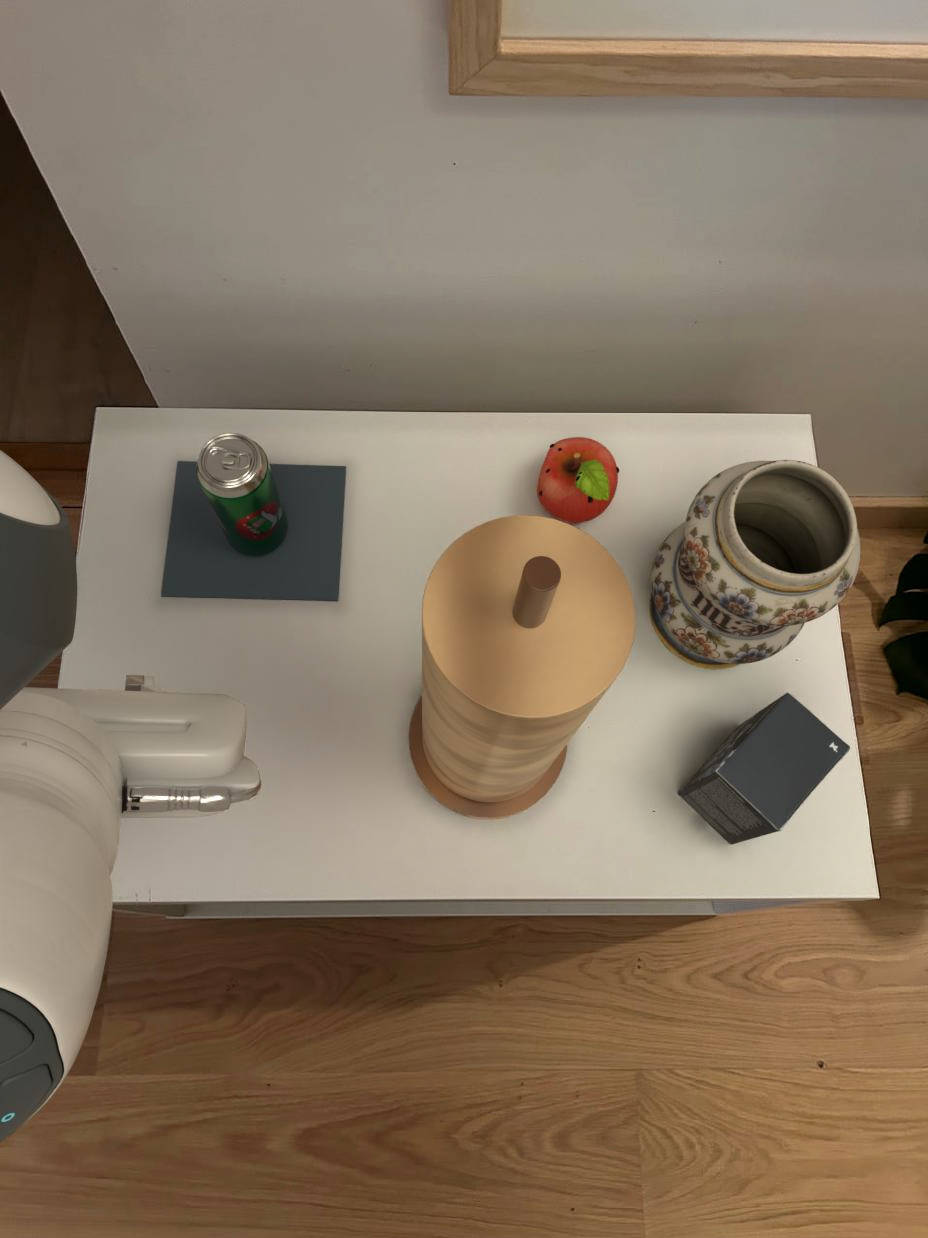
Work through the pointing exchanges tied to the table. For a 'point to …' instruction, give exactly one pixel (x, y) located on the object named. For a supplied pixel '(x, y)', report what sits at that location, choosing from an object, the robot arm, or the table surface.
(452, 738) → the towel stand
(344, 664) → the table surface
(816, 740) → the box
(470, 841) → the table surface
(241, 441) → the soda can
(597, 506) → the apple
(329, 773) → the table surface
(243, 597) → the mat
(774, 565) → the apothecary jar
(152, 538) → the table surface
